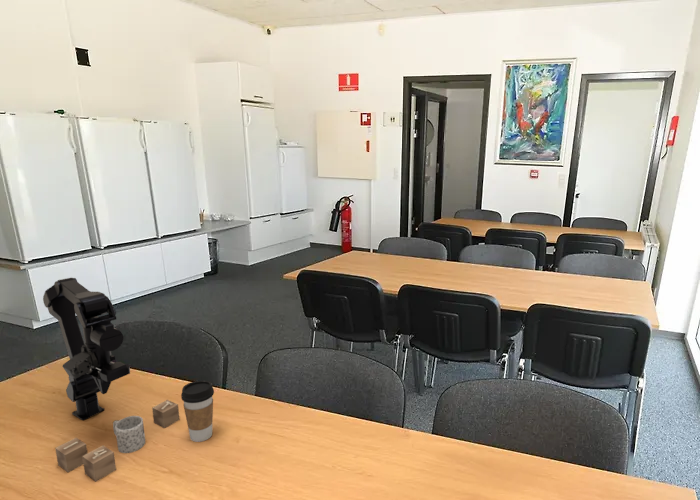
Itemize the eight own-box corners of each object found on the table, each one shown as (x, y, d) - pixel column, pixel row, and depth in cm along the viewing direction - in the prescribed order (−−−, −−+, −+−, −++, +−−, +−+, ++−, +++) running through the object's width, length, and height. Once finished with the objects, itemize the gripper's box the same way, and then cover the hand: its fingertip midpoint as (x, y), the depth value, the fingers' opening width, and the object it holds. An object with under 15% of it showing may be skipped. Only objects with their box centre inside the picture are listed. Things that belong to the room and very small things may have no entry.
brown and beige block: (153, 423, 130) (152, 406, 129) (168, 414, 134) (167, 399, 133) (164, 428, 127) (162, 412, 126) (179, 419, 131) (178, 403, 130)
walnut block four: (85, 474, 109) (82, 455, 108) (105, 462, 113) (102, 444, 112) (95, 482, 106) (93, 463, 105) (116, 470, 110) (113, 451, 109)
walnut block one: (58, 465, 112) (55, 447, 111) (78, 454, 116) (76, 436, 115) (67, 473, 110) (64, 454, 108) (88, 461, 114) (86, 443, 113)
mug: (150, 441, 121) (148, 419, 120) (128, 456, 115) (125, 433, 114) (126, 431, 126) (124, 410, 124) (104, 444, 120) (101, 422, 119)
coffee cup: (207, 446, 119) (203, 395, 116) (178, 442, 121) (174, 392, 118) (222, 428, 127) (218, 379, 124) (195, 424, 129) (191, 376, 126)
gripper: (47, 343, 118) (55, 396, 121) (84, 360, 108) (92, 418, 111) (90, 329, 127) (97, 379, 130) (128, 344, 117) (134, 398, 120)
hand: (104, 393), depth 123 cm, fingers closed
